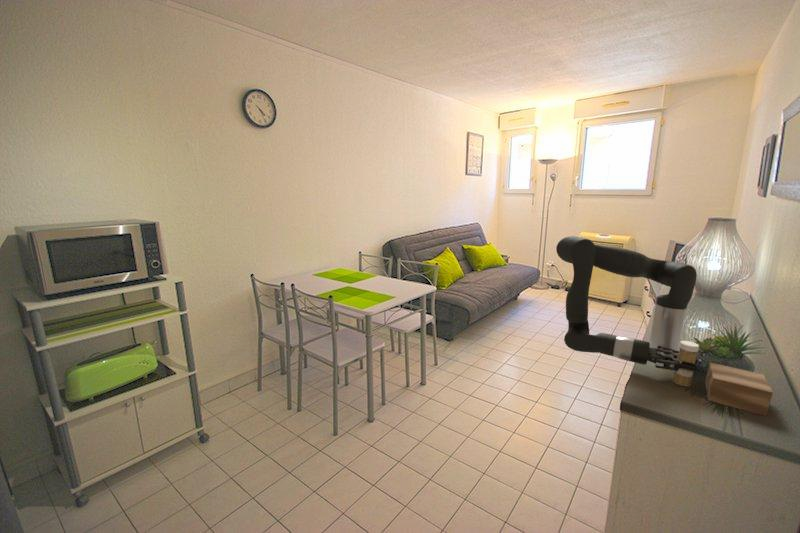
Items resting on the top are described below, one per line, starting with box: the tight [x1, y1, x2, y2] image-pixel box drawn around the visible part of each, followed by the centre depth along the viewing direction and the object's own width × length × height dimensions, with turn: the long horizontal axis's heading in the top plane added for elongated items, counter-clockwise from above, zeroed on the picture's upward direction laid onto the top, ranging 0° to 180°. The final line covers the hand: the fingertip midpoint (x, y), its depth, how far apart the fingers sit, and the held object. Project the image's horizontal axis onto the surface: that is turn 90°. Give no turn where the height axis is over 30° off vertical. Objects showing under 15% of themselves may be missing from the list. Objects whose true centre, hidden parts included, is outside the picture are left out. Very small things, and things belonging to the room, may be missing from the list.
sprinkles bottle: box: [672, 340, 700, 387], centre depth 111 cm, size 5×5×14 cm
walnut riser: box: [704, 362, 774, 417], centre depth 104 cm, size 12×12×7 cm
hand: (696, 365), depth 109 cm, fingers closed on sprinkles bottle, 4 cm apart
